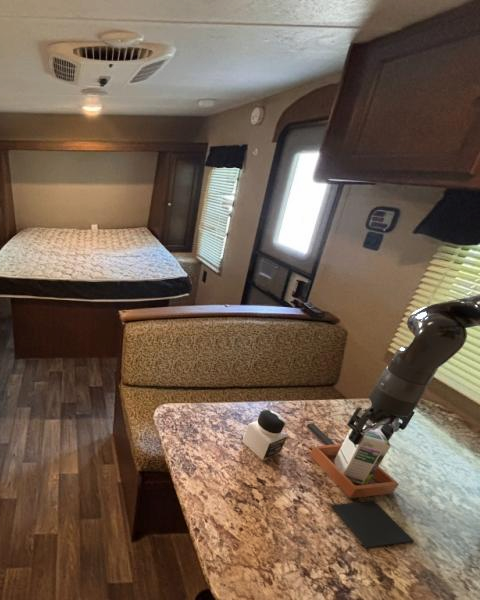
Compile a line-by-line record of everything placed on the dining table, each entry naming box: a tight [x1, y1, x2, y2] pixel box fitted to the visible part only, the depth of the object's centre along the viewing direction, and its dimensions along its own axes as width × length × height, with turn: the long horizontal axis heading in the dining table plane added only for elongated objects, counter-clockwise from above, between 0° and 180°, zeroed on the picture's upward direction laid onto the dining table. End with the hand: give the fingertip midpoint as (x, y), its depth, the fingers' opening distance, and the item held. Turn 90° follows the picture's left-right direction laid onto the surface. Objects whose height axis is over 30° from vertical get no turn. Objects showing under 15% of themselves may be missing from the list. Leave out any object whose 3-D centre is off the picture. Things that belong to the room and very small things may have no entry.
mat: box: [330, 499, 414, 549], centre depth 72 cm, size 12×9×1 cm
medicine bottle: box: [242, 409, 288, 462], centre depth 88 cm, size 7×7×12 cm
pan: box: [306, 422, 399, 499], centre depth 87 cm, size 13×21×4 cm, turn 8°
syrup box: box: [333, 422, 391, 485], centre depth 81 cm, size 6×6×14 cm
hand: (367, 440), depth 79 cm, fingers open, 8 cm apart
